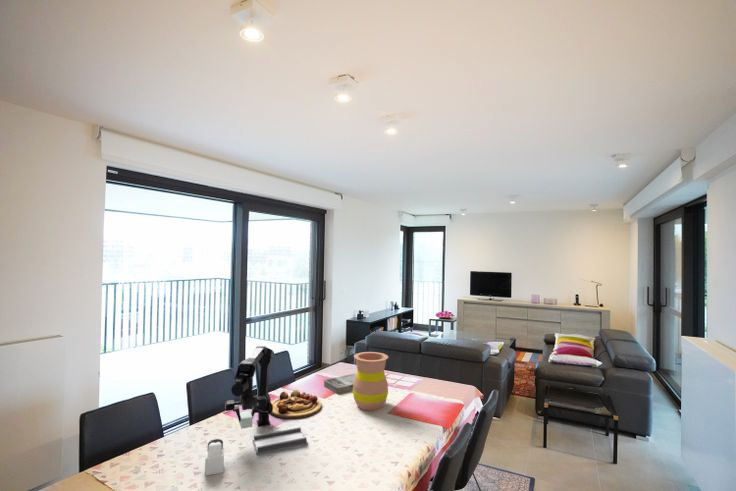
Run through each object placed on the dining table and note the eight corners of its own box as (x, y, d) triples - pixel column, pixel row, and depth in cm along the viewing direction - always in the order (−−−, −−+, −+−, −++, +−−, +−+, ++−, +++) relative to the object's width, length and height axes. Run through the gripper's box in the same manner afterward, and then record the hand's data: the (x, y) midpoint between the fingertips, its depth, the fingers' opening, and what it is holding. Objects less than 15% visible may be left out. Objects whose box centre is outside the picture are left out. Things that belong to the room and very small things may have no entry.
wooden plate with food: (291, 425, 199) (292, 410, 199) (256, 408, 218) (257, 394, 219) (332, 407, 224) (333, 394, 224) (297, 394, 243) (298, 381, 244)
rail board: (252, 441, 180) (253, 435, 180) (300, 432, 190) (301, 426, 190) (256, 455, 168) (256, 448, 168) (307, 444, 178) (307, 438, 178)
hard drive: (369, 386, 259) (369, 380, 259) (336, 394, 243) (337, 388, 243) (355, 379, 274) (355, 373, 274) (323, 386, 258) (323, 380, 258)
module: (239, 421, 179) (239, 412, 179) (249, 419, 181) (249, 410, 181) (241, 428, 172) (241, 419, 172) (252, 426, 174) (252, 417, 174)
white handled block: (206, 466, 158) (206, 438, 159) (223, 463, 161) (224, 436, 161) (204, 476, 152) (205, 446, 152) (223, 472, 154) (224, 444, 155)
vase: (388, 399, 236) (389, 352, 236) (387, 414, 214) (387, 362, 215) (354, 397, 238) (355, 351, 239) (349, 411, 216) (350, 360, 217)
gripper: (226, 397, 166) (225, 432, 165) (268, 391, 173) (268, 424, 173) (225, 388, 176) (224, 421, 175) (265, 383, 183) (264, 415, 183)
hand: (245, 420), depth 176 cm, fingers closed on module, 5 cm apart
